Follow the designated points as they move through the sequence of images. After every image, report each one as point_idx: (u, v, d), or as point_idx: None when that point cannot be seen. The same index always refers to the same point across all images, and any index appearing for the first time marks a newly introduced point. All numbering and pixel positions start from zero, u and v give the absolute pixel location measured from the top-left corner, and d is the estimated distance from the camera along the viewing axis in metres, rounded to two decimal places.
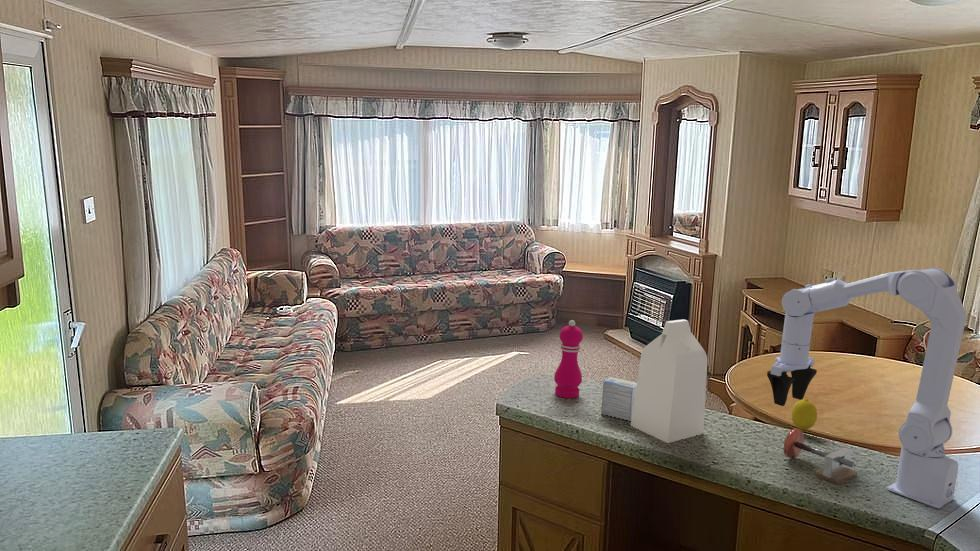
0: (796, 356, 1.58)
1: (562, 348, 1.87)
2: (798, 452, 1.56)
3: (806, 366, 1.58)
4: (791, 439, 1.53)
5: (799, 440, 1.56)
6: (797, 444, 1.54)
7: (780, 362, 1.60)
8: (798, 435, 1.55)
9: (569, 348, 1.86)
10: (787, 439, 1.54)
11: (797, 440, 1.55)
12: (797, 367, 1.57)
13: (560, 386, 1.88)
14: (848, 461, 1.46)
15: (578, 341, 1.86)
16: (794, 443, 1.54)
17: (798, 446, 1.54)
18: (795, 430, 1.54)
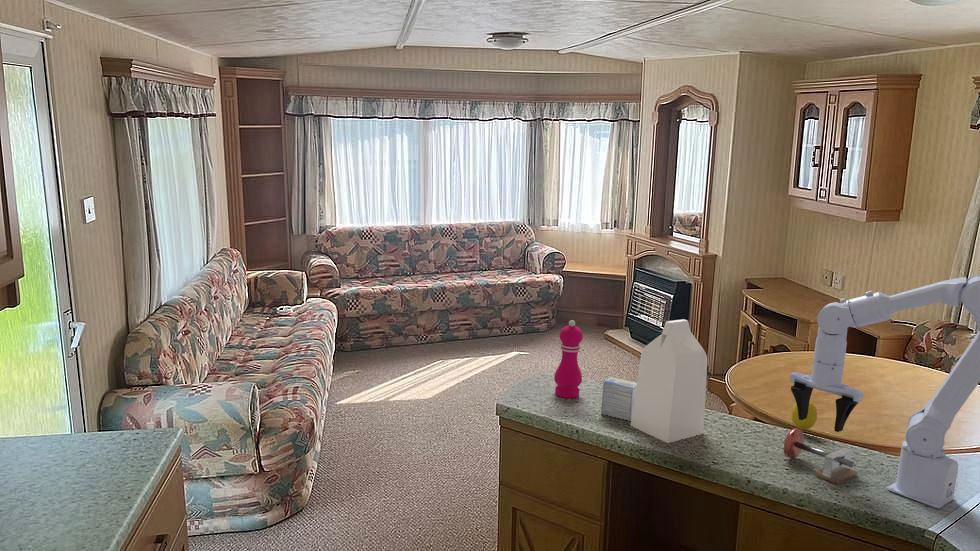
0: (812, 370, 1.50)
1: (562, 348, 1.87)
2: (798, 452, 1.56)
3: (818, 385, 1.47)
4: (791, 439, 1.53)
5: (799, 440, 1.56)
6: (797, 444, 1.54)
7: None
8: (798, 435, 1.55)
9: (569, 348, 1.86)
10: (787, 439, 1.54)
11: (797, 440, 1.55)
12: (807, 382, 1.50)
13: (560, 386, 1.88)
14: (848, 461, 1.46)
15: (578, 341, 1.86)
16: (794, 443, 1.54)
17: (798, 446, 1.54)
18: (795, 430, 1.54)
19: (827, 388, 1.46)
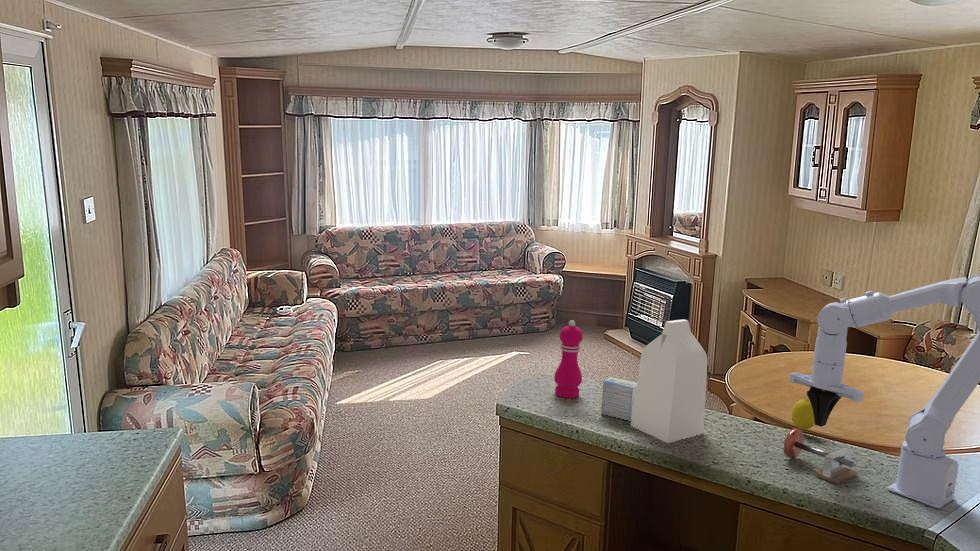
0: (812, 370, 1.50)
1: (562, 348, 1.87)
2: (798, 452, 1.56)
3: (818, 385, 1.47)
4: (791, 439, 1.53)
5: (799, 440, 1.56)
6: (797, 444, 1.54)
7: None
8: (798, 435, 1.55)
9: (569, 348, 1.86)
10: (787, 439, 1.54)
11: (797, 440, 1.55)
12: (807, 382, 1.50)
13: (560, 386, 1.88)
14: (848, 461, 1.46)
15: (578, 341, 1.86)
16: (794, 443, 1.54)
17: (798, 446, 1.54)
18: (795, 430, 1.54)
19: (827, 388, 1.46)
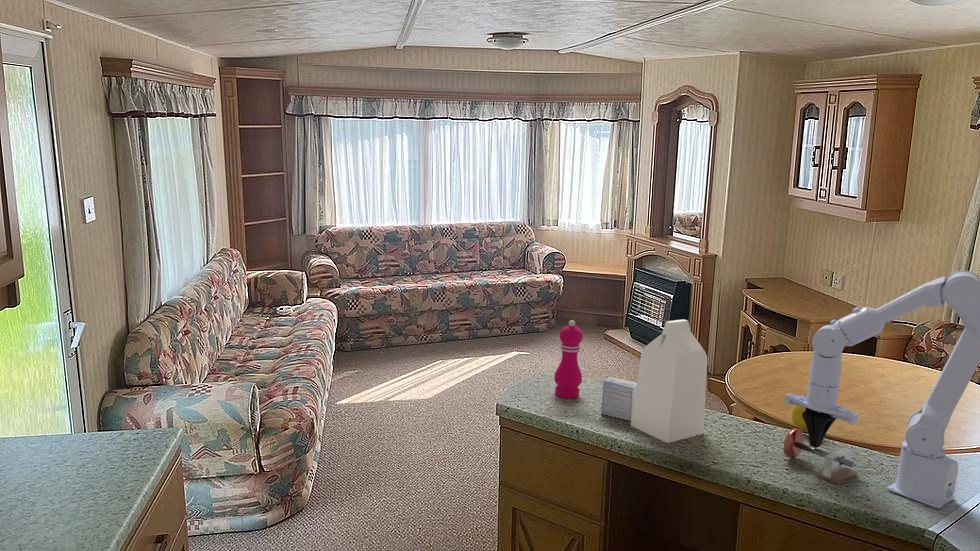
0: (807, 392, 1.51)
1: (562, 348, 1.87)
2: (798, 452, 1.56)
3: (813, 407, 1.48)
4: (791, 439, 1.53)
5: (799, 440, 1.56)
6: (797, 444, 1.54)
7: None
8: (798, 435, 1.55)
9: (569, 348, 1.86)
10: (787, 439, 1.54)
11: (797, 440, 1.55)
12: (803, 403, 1.51)
13: (560, 386, 1.88)
14: (848, 461, 1.46)
15: (578, 341, 1.86)
16: (794, 443, 1.54)
17: (798, 446, 1.54)
18: (795, 430, 1.54)
19: (822, 410, 1.47)
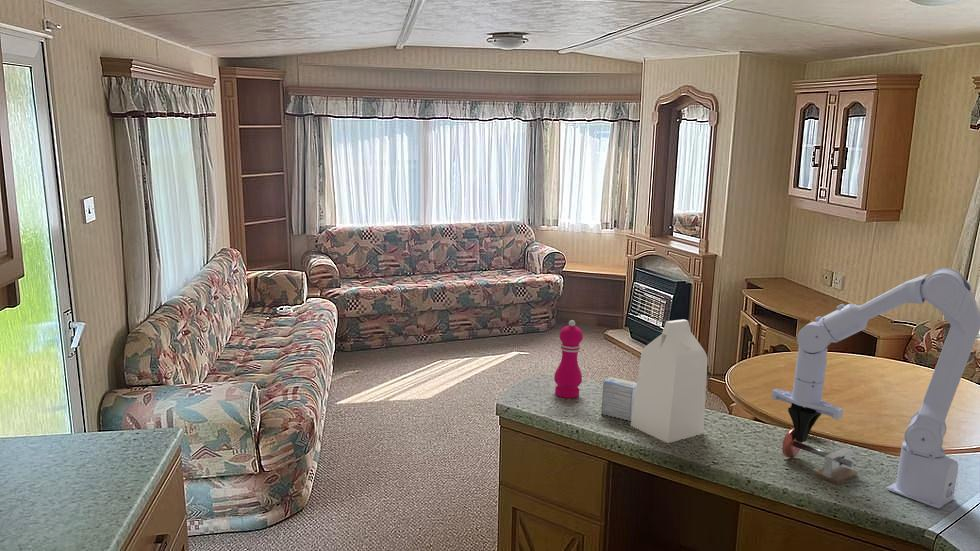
0: (793, 387, 1.53)
1: (562, 348, 1.87)
2: (797, 452, 1.57)
3: (799, 403, 1.51)
4: (790, 439, 1.54)
5: None
6: (796, 443, 1.55)
7: None
8: None
9: (569, 348, 1.86)
10: (786, 439, 1.54)
11: None
12: (789, 399, 1.53)
13: (560, 386, 1.88)
14: (846, 460, 1.46)
15: (578, 341, 1.86)
16: (793, 442, 1.55)
17: (797, 445, 1.54)
18: (794, 430, 1.55)
19: (807, 405, 1.50)
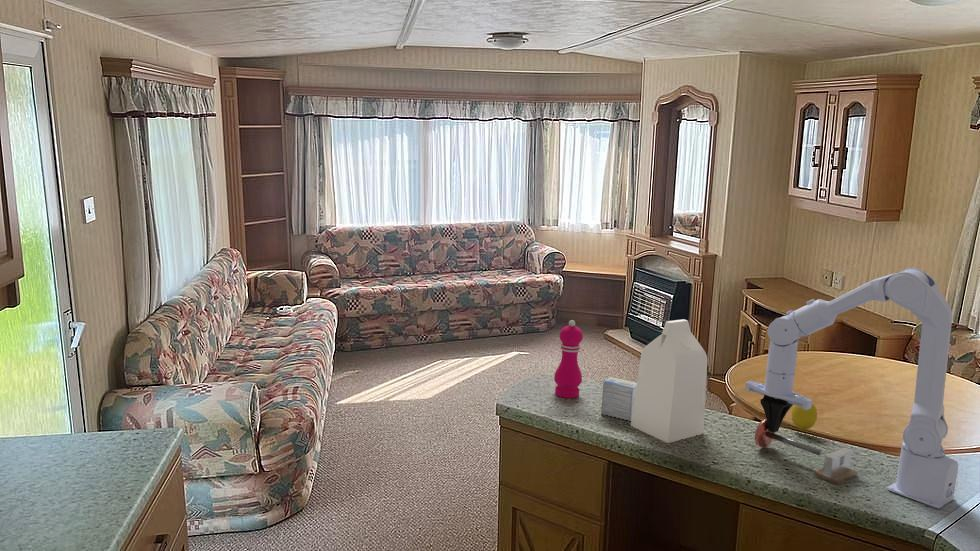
0: (765, 379, 1.58)
1: (562, 348, 1.87)
2: (769, 442, 1.62)
3: (770, 394, 1.56)
4: (762, 429, 1.59)
5: None
6: (768, 433, 1.60)
7: None
8: None
9: (569, 348, 1.86)
10: (758, 429, 1.59)
11: None
12: (761, 390, 1.58)
13: (560, 386, 1.88)
14: (816, 449, 1.51)
15: (578, 341, 1.86)
16: (765, 433, 1.60)
17: (769, 435, 1.59)
18: (766, 420, 1.60)
19: (778, 396, 1.55)
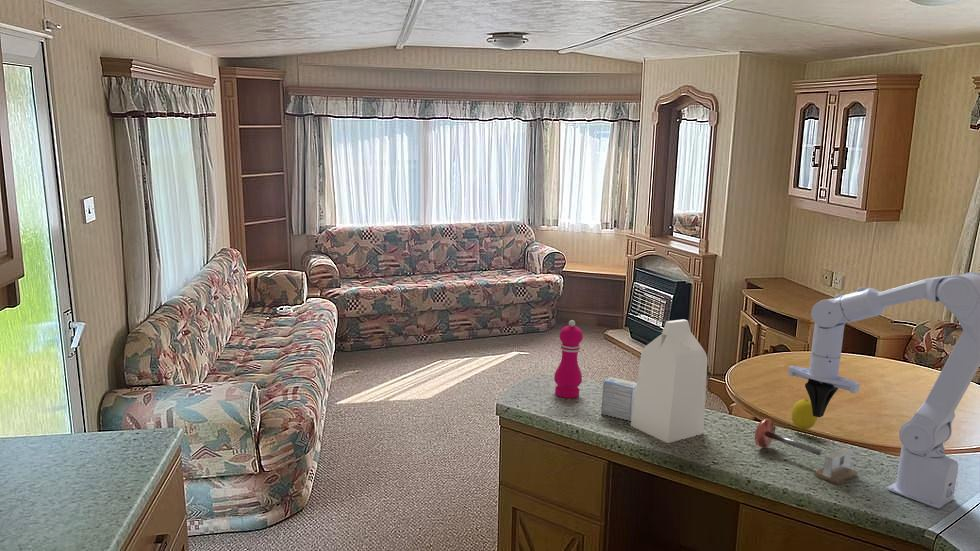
0: (810, 363, 1.55)
1: (562, 348, 1.87)
2: (769, 442, 1.62)
3: (816, 378, 1.53)
4: (762, 429, 1.59)
5: (770, 430, 1.61)
6: (768, 433, 1.60)
7: None
8: (769, 425, 1.60)
9: (569, 348, 1.86)
10: (758, 429, 1.59)
11: (768, 430, 1.60)
12: (805, 374, 1.55)
13: (560, 386, 1.88)
14: (816, 449, 1.51)
15: (578, 341, 1.86)
16: (765, 433, 1.60)
17: (769, 435, 1.59)
18: (766, 420, 1.60)
19: (824, 380, 1.52)
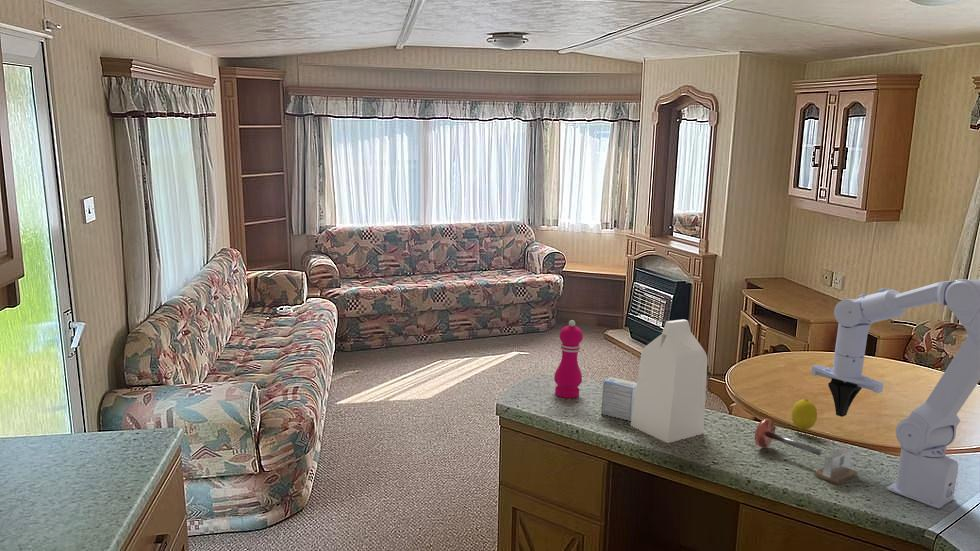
0: (833, 363, 1.56)
1: (562, 348, 1.87)
2: (769, 442, 1.62)
3: (840, 377, 1.54)
4: (762, 429, 1.59)
5: (770, 430, 1.61)
6: (768, 433, 1.60)
7: None
8: (769, 425, 1.60)
9: (569, 348, 1.86)
10: (758, 429, 1.59)
11: (768, 430, 1.60)
12: (829, 374, 1.56)
13: (560, 386, 1.88)
14: (816, 449, 1.51)
15: (578, 341, 1.86)
16: (765, 433, 1.60)
17: (769, 435, 1.59)
18: (766, 420, 1.60)
19: (848, 380, 1.53)
